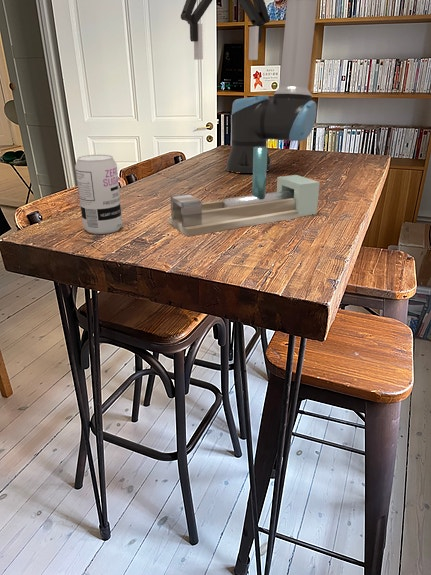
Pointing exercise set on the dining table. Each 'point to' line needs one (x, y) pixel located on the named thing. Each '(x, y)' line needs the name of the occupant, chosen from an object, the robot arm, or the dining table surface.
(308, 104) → the robot arm
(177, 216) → the rail
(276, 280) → the dining table surface
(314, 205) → the socket
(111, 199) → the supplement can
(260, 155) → the sliding bolt
